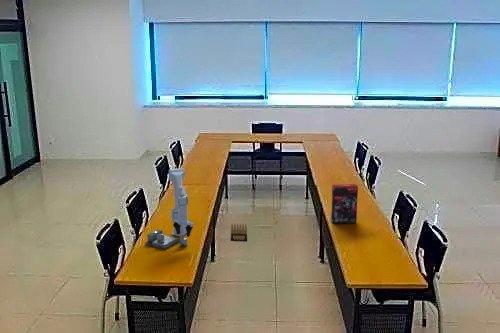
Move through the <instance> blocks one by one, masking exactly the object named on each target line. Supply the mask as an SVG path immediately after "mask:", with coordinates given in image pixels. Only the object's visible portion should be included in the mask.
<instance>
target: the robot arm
mask: <svg viewBox="0 0 500 333" xmlns="http://www.w3.org/2000/svg"><path fill="white" fill-rule="evenodd" d="M185 172H186V170H185V168H183V167H182V168H172V169H171V168H169V169H168V176H169V177H168V178H169V182H172V187H173V197H174V207H172V209H170V218H171V222H172V223H173V224H172V226H173V232H172V233H170V234H171V235H172V236H176V237H180V238H181V237H184V235H186V237H187V238H189V237H191V233H192V230H193V228H194V227H195V226H194V222H191V221H190V220H189V219H188V218H189V216H188V205H189V198H188V194H187V192H186V188H185V187H184V185H183V181H184V180H185V177H186V174H185Z"/></svg>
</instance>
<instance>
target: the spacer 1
mask: <svg viewBox="0 0 500 333" xmlns="http://www.w3.org/2000/svg"><path fill="white" fill-rule="evenodd" d="M164 235H165V234H164V232H162V233H159V234H157V243H164Z"/></svg>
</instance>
